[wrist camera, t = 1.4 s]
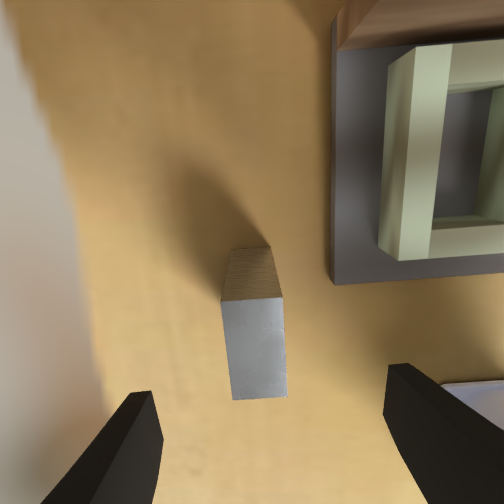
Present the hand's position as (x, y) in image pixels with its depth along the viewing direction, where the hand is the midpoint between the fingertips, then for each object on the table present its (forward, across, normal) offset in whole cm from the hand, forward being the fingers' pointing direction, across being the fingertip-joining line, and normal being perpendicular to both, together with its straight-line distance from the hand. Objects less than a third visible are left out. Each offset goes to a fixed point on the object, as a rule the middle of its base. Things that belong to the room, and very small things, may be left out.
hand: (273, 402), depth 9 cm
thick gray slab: (+10, 0, +1) cm, 10 cm away
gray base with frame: (+10, -11, -6) cm, 16 cm away
